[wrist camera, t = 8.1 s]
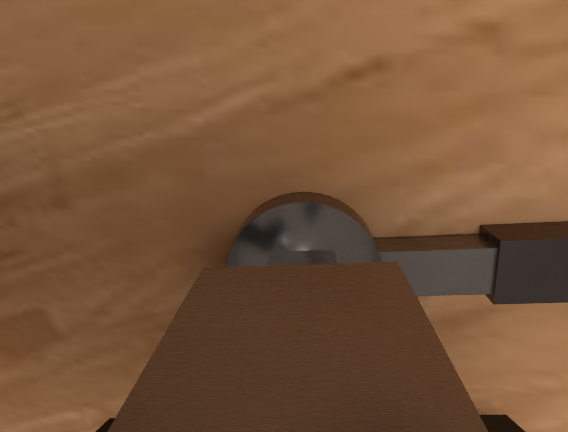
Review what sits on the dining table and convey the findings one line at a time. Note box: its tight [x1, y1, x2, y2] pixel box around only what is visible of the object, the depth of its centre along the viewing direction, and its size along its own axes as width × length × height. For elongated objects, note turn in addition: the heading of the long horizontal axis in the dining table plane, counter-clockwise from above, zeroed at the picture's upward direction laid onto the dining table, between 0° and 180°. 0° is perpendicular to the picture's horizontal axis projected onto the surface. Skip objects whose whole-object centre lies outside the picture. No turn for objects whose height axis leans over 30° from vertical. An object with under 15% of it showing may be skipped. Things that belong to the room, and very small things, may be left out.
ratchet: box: [226, 192, 568, 304], centre depth 15 cm, size 19×7×7 cm, turn 94°
